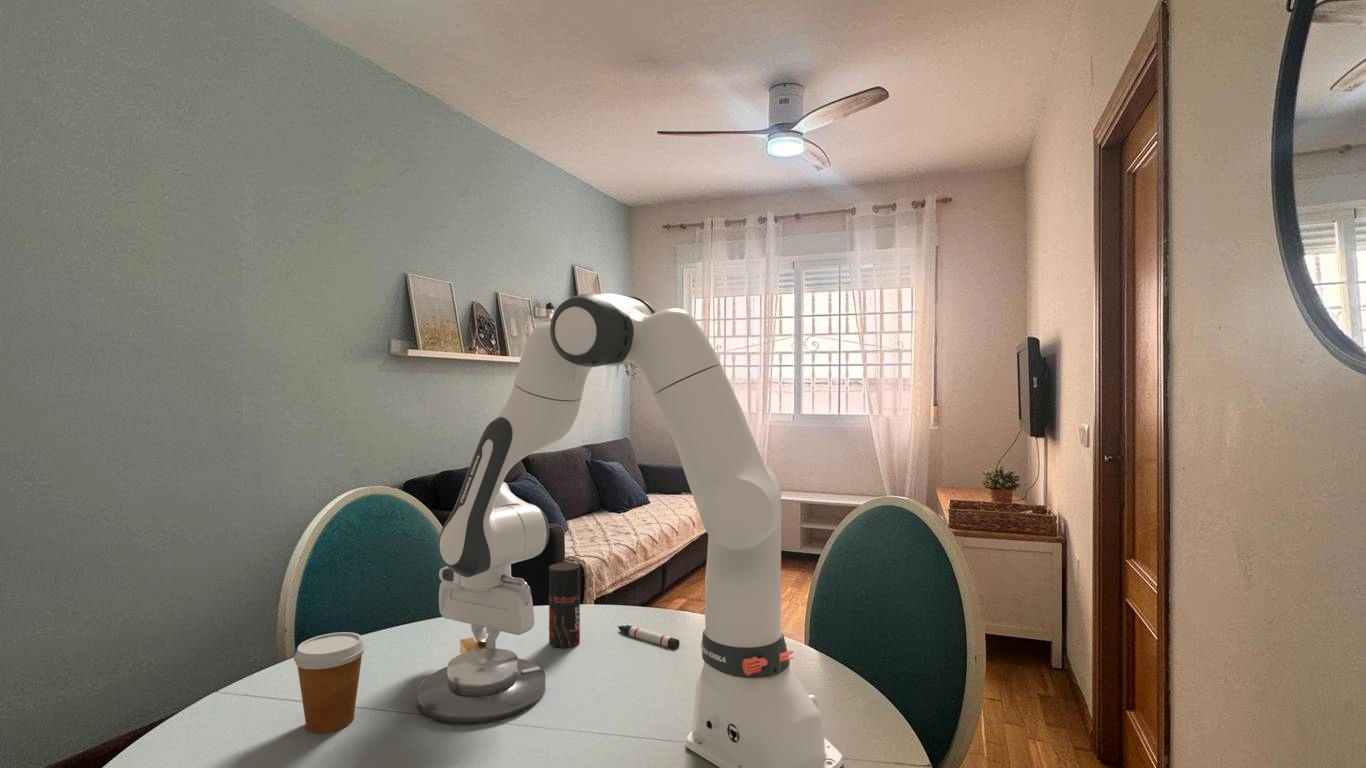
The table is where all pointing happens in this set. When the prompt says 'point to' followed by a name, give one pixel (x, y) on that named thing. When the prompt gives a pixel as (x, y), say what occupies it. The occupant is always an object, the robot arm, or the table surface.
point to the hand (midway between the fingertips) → (486, 649)
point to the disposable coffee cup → (329, 679)
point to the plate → (480, 698)
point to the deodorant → (564, 605)
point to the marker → (650, 636)
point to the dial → (481, 669)
